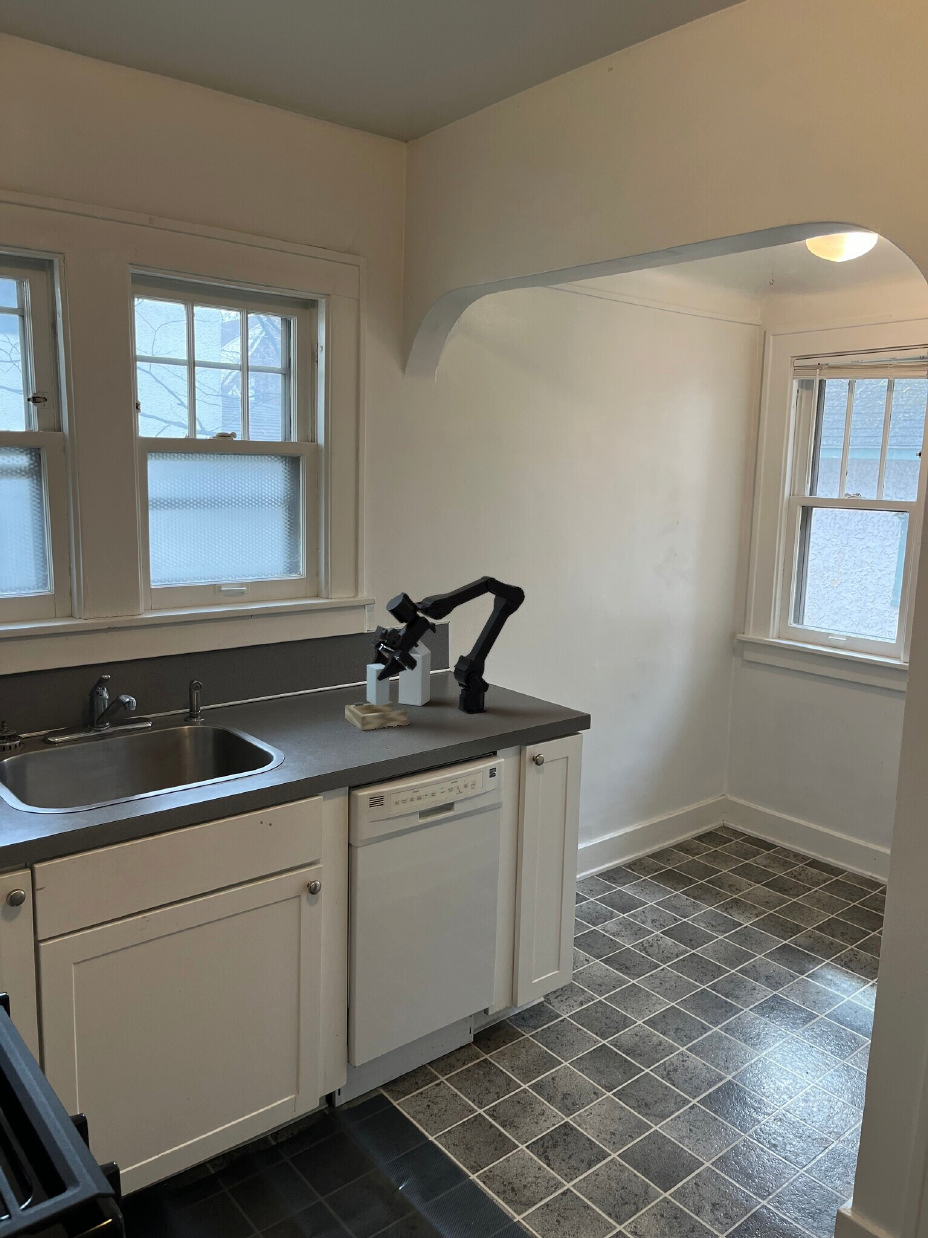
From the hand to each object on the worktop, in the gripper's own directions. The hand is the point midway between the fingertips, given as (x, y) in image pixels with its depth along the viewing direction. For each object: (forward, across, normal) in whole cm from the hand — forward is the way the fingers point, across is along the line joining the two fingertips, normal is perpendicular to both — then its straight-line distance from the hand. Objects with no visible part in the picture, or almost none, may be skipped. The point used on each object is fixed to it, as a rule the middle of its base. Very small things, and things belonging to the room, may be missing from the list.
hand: (373, 677), depth 251 cm
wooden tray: (+8, 0, +10) cm, 13 cm away
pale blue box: (+4, 0, +6) cm, 7 cm away
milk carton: (-5, -14, +23) cm, 27 cm away
